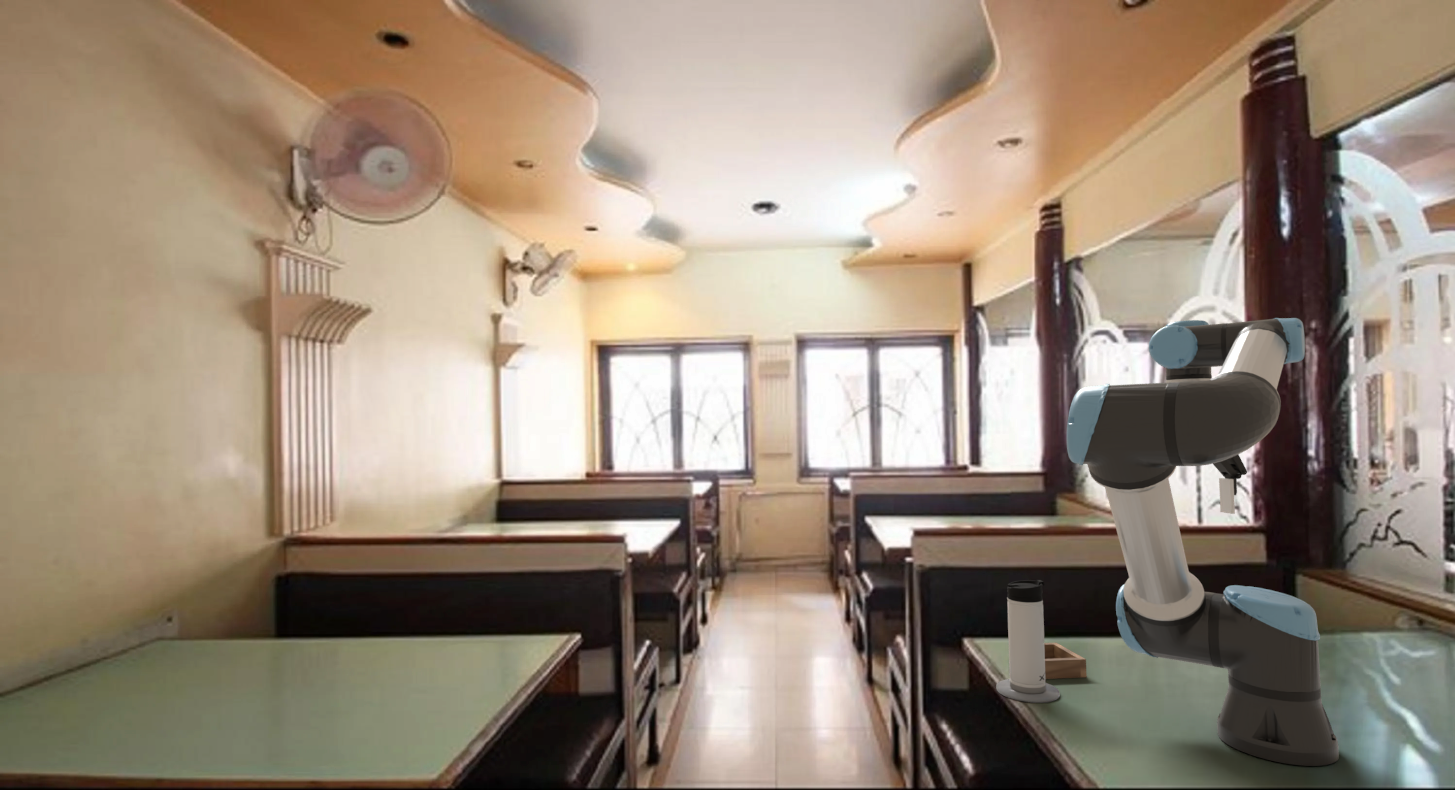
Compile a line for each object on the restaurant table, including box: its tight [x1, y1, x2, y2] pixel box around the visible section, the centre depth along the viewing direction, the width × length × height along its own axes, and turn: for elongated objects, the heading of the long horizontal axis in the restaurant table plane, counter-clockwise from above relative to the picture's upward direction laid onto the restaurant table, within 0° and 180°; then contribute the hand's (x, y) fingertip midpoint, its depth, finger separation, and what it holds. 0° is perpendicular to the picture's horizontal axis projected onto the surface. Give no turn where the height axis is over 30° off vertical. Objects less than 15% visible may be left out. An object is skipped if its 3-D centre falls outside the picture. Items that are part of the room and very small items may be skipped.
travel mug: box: [1006, 579, 1047, 694], centre depth 139 cm, size 6×7×20 cm
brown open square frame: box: [1044, 642, 1088, 680], centre depth 151 cm, size 11×10×4 cm
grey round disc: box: [995, 678, 1061, 704], centre depth 139 cm, size 11×11×1 cm
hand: (1194, 513), depth 140 cm, fingers open, 13 cm apart
